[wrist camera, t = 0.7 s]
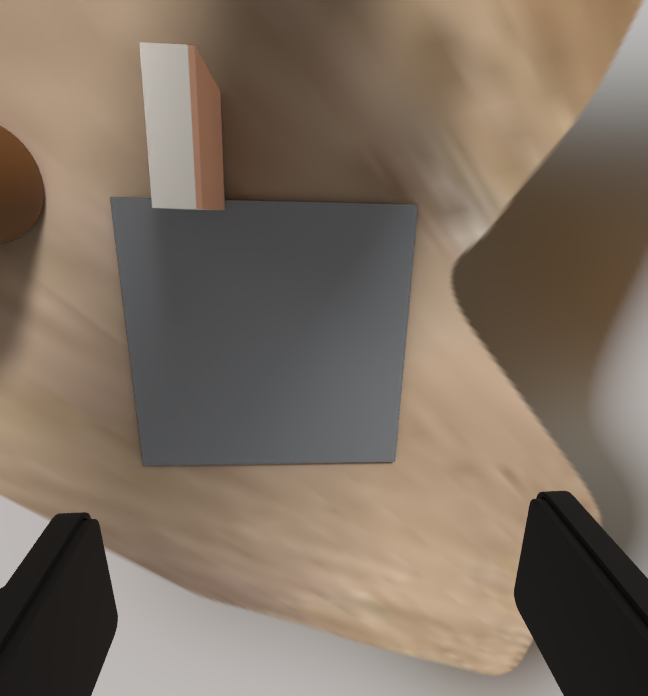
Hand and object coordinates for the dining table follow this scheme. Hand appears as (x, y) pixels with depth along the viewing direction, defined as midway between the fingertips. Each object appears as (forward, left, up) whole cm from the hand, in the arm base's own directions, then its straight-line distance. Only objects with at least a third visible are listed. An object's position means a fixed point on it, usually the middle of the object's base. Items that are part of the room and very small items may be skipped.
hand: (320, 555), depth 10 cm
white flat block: (-9, -6, -24) cm, 27 cm away
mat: (+4, -2, -24) cm, 25 cm away
